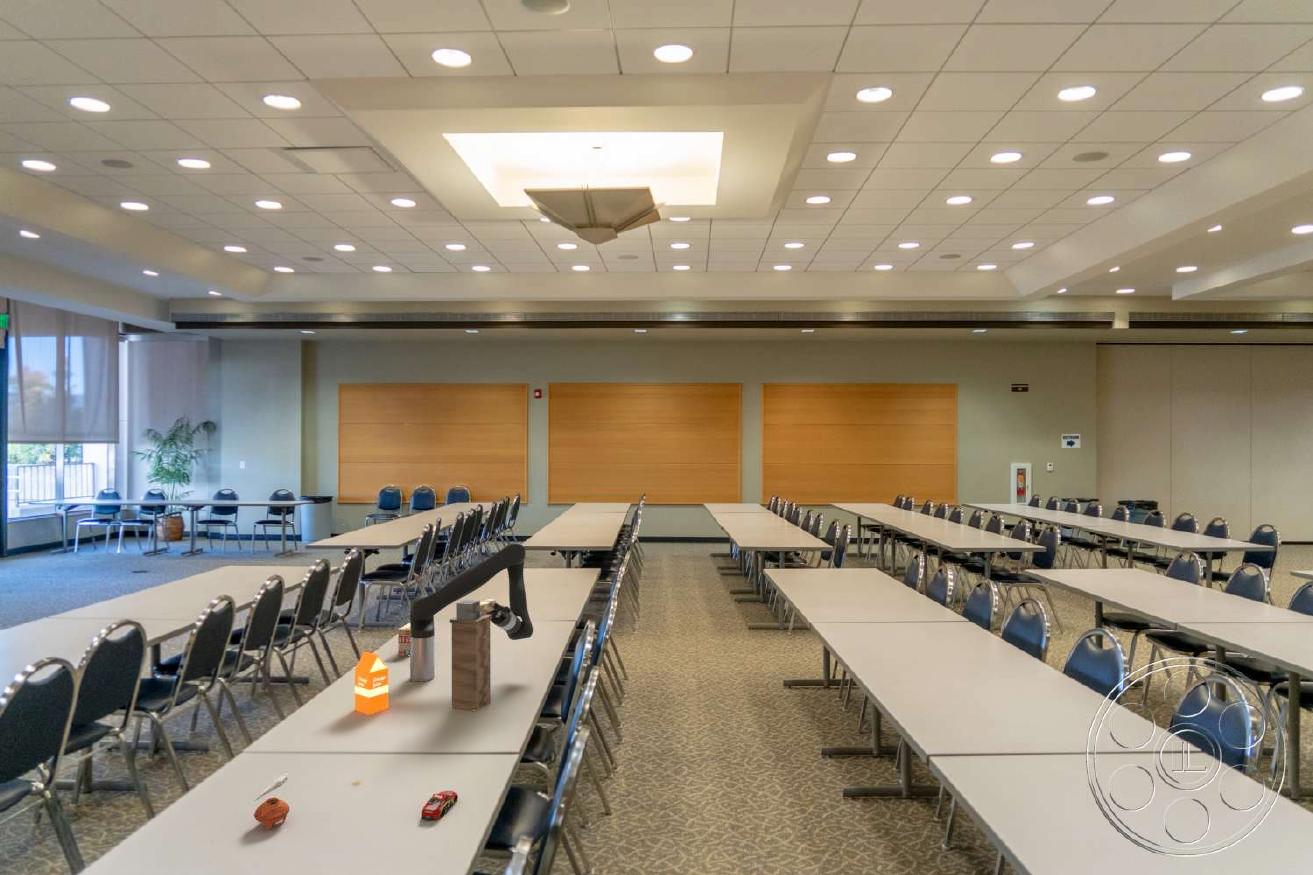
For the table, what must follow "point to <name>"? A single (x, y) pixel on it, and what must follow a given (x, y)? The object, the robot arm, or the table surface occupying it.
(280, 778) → the white tapered stick
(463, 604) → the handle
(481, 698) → the pedestal
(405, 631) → the red printed box
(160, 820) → the table surface
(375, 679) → the orange juice
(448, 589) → the robot arm
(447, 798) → the race car
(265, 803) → the pot
